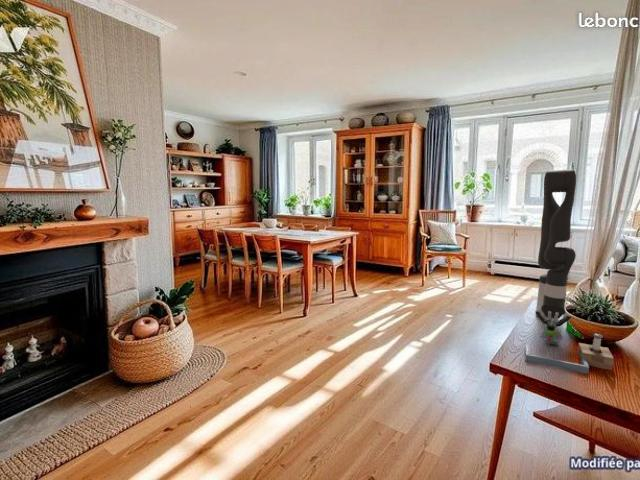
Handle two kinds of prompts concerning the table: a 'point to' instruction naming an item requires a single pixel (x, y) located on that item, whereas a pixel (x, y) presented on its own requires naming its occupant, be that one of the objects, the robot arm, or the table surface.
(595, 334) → the cylinder
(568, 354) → the table surface
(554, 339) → the geometric puzzle
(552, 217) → the robot arm
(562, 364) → the open frame
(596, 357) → the slotted tan block
